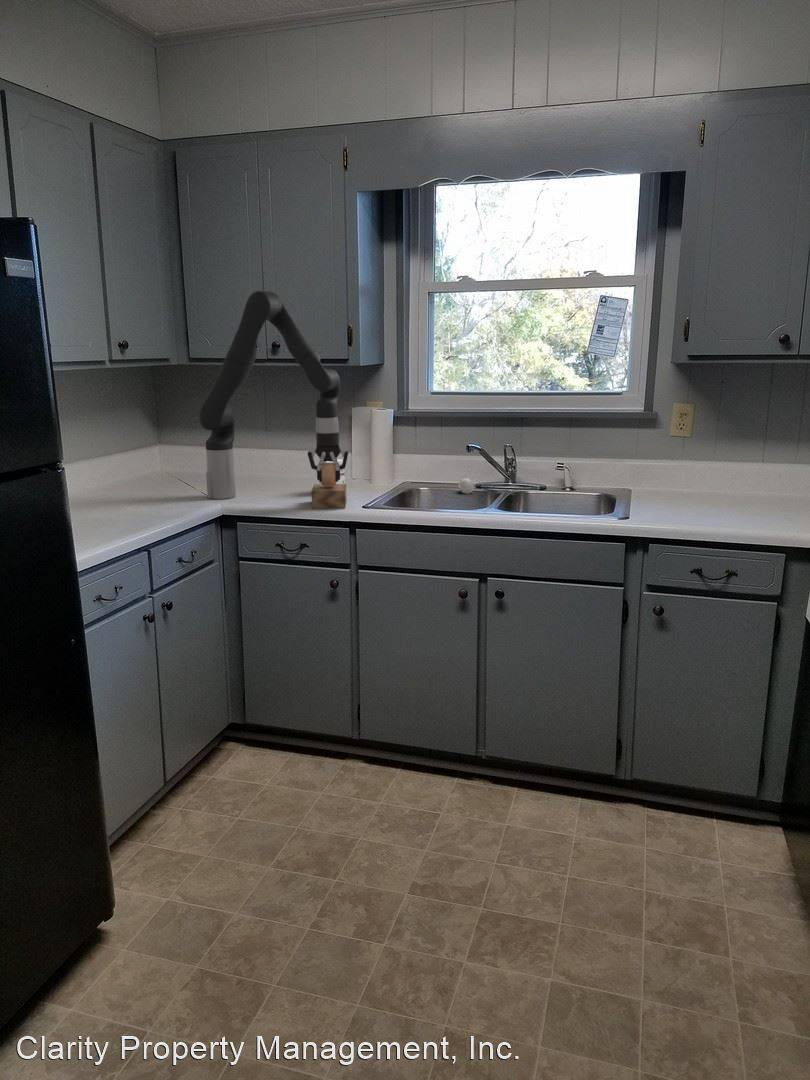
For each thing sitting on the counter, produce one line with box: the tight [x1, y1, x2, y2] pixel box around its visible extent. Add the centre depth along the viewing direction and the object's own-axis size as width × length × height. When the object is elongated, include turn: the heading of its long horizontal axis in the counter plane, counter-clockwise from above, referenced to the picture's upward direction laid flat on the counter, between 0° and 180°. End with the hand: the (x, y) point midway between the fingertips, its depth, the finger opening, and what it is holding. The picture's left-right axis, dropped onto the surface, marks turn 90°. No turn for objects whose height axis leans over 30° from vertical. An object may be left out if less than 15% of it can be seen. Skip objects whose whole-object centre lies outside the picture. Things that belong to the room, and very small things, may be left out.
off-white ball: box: [458, 477, 475, 495], centre depth 289 cm, size 5×5×5 cm
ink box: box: [319, 458, 346, 484], centre depth 289 cm, size 9×5×12 cm, turn 143°
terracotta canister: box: [321, 462, 336, 486], centre depth 267 cm, size 5×5×7 cm
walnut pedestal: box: [310, 483, 348, 510], centre depth 269 cm, size 11×12×6 cm
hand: (328, 481), depth 268 cm, fingers closed on terracotta canister, 5 cm apart
